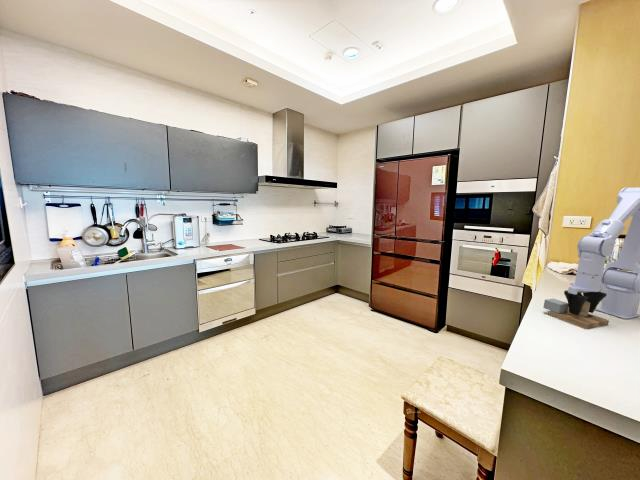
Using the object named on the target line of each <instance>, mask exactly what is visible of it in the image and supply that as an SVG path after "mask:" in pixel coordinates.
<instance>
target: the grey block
mask: <svg viewBox="0 0 640 480" xmlns="http://www.w3.org/2000/svg"><path fill="white" fill-rule="evenodd" d="M568 308H569V306H568V302H566V301H562V300H559V299H556V298H548V299H544V303H543V309H545V310H548V311H554V312H556V313H564V312H568Z"/></svg>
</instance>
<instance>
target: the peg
mask: <svg viewBox="0 0 640 480" xmlns="http://www.w3.org/2000/svg"><path fill="white" fill-rule="evenodd" d="M589 308H590V302H588V301H585V303H584V304H583V306H582V309H581V311H580V313H579V316H582V317H585V318H587V317H588V314H590V312H589Z"/></svg>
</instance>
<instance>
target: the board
mask: <svg viewBox="0 0 640 480" xmlns="http://www.w3.org/2000/svg"><path fill="white" fill-rule="evenodd" d="M548 316H550V317H552V318H556V319H558V320H561V321H563V322H566V323H569V324H571V325H574V326H576V327H579V328H582V329H584V330H591V329H595V328H600V327H605V326H608V325H609V321H610V320H609V319H606V318H603V317H599V316H597V315H593V314H592V313H588V317H587V318H585V317H582V316H579V315H574V314H572V313H570V312H569V307H568V312H564V313H556V312H554V311H551V310H548Z"/></svg>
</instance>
